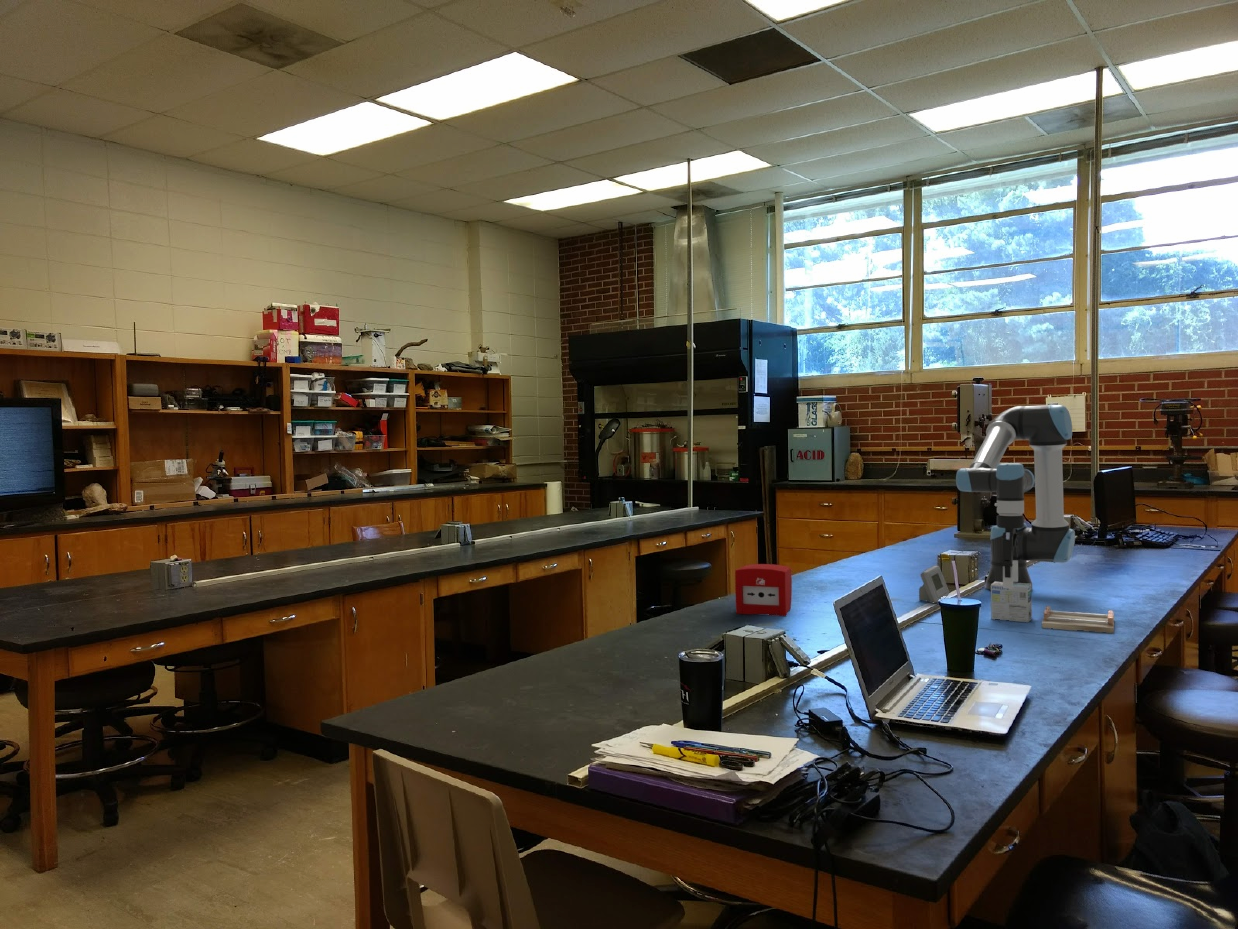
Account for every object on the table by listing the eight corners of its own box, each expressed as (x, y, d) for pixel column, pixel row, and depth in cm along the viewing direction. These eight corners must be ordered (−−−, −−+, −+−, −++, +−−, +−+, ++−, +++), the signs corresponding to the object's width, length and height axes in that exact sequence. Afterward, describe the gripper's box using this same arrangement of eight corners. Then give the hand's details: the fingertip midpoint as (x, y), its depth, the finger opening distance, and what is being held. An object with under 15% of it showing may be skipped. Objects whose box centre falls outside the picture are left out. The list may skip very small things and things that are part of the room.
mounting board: (1046, 615, 269) (1046, 610, 269) (1114, 620, 260) (1114, 615, 260) (1041, 627, 253) (1041, 622, 253) (1113, 633, 244) (1113, 628, 244)
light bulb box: (1032, 618, 266) (1031, 583, 265) (1029, 623, 260) (1028, 586, 260) (994, 615, 271) (993, 580, 271) (990, 619, 266) (990, 584, 265)
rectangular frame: (1046, 612, 266) (1046, 606, 266) (1113, 617, 257) (1113, 610, 257) (1043, 620, 256) (1043, 613, 256) (1112, 625, 248) (1112, 618, 248)
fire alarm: (735, 614, 284) (734, 568, 284) (743, 607, 294) (742, 562, 294) (785, 616, 278) (784, 569, 277) (792, 609, 288) (791, 564, 287)
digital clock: (935, 605, 289) (934, 572, 289) (910, 601, 296) (909, 570, 295) (958, 597, 300) (957, 566, 300) (933, 594, 307) (932, 564, 306)
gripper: (1001, 510, 277) (1002, 577, 278) (991, 517, 255) (991, 590, 256) (1027, 511, 273) (1028, 579, 274) (1019, 518, 252) (1019, 592, 252)
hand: (1010, 584), depth 265 cm, fingers open, 13 cm apart
